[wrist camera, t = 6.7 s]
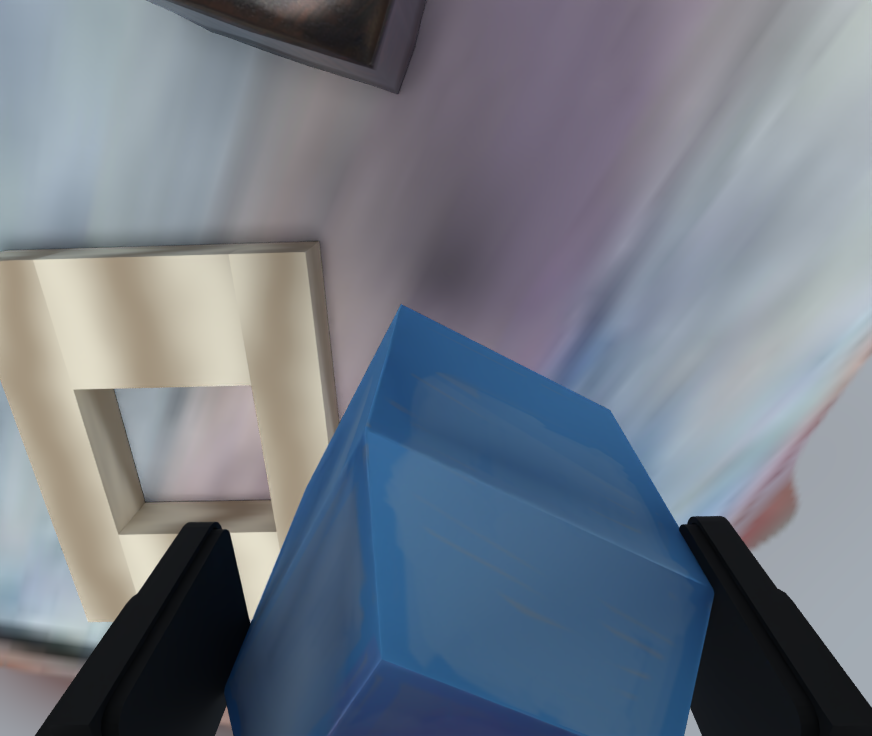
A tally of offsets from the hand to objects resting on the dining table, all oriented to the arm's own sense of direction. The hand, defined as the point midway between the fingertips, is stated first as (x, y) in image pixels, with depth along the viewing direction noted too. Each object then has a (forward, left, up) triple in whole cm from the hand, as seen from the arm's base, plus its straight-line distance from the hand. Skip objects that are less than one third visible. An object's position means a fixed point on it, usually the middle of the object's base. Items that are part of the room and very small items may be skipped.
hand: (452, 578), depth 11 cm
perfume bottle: (0, 0, -5) cm, 5 cm away
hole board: (+14, +7, -19) cm, 25 cm away
